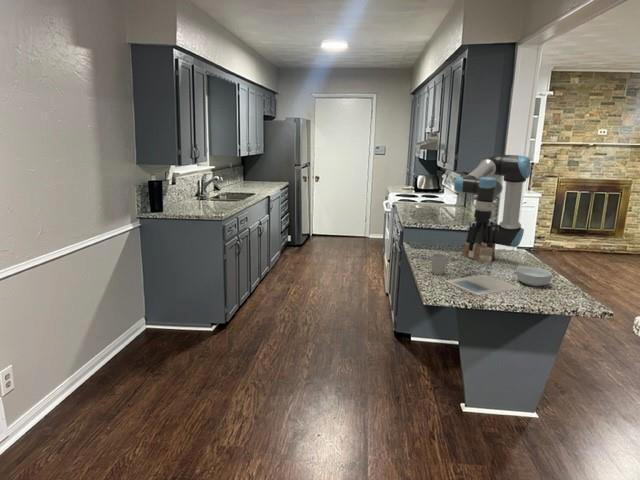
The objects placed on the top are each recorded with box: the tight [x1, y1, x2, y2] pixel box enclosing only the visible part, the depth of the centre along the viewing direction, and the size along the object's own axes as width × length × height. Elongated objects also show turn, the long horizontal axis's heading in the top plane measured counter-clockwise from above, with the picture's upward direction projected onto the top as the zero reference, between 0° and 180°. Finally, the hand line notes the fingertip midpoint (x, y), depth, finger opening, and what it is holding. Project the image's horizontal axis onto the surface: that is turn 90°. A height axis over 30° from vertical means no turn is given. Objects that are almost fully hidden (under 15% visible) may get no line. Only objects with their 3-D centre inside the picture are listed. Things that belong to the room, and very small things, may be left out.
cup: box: [431, 253, 449, 276], centre depth 238 cm, size 8×8×10 cm
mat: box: [443, 273, 520, 297], centre depth 225 cm, size 30×22×1 cm
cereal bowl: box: [515, 266, 553, 287], centre depth 230 cm, size 17×17×7 cm
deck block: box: [461, 242, 494, 264], centre depth 217 cm, size 12×7×6 cm, turn 28°
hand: (476, 256), depth 218 cm, fingers closed on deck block, 7 cm apart
